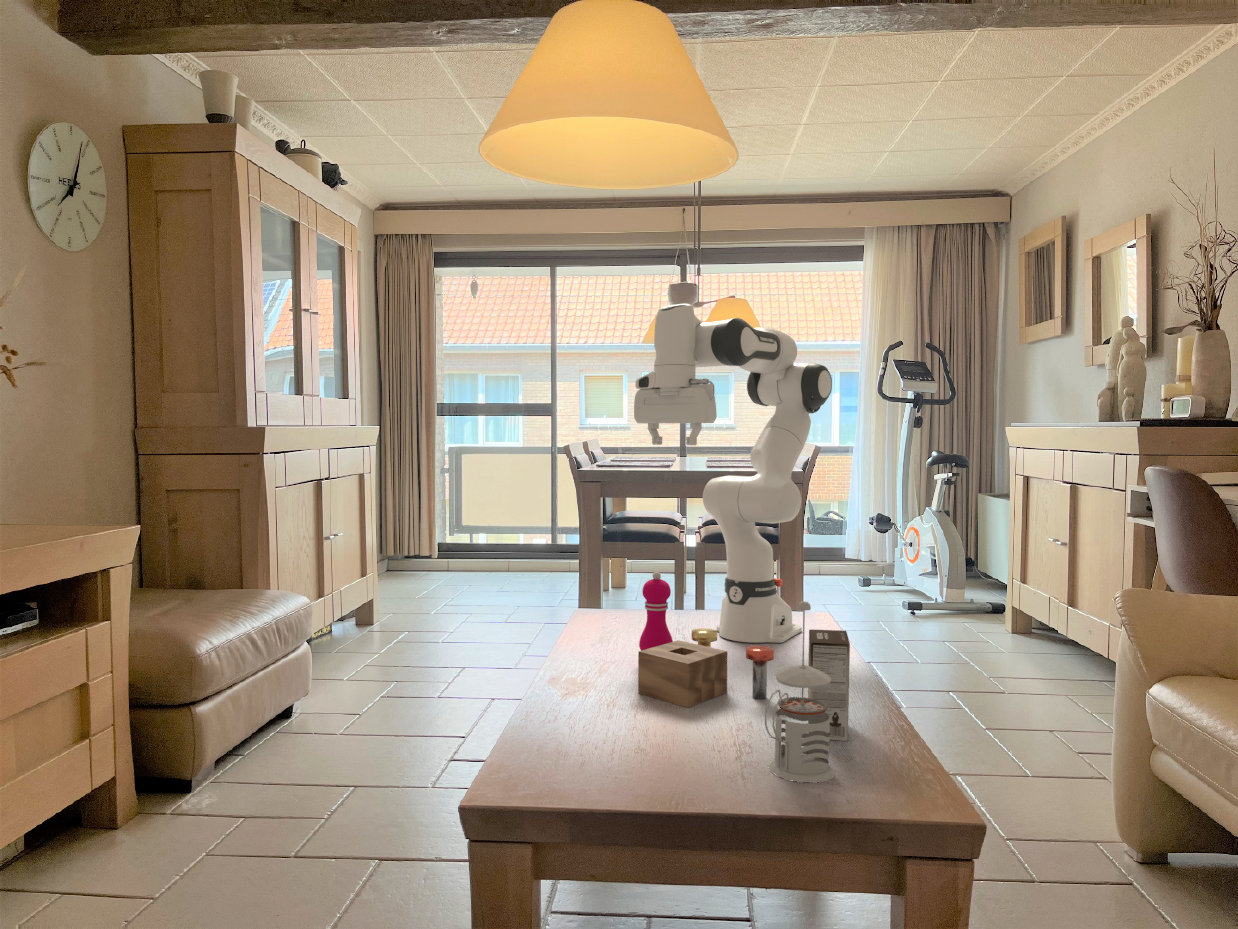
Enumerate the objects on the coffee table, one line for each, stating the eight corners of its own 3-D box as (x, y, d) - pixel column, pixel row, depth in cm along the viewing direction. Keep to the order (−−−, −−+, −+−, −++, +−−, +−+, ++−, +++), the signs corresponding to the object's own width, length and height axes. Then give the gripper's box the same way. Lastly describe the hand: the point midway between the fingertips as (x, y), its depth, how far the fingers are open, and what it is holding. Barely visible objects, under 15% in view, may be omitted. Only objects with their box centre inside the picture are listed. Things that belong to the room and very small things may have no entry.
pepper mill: (673, 661, 181) (674, 569, 181) (672, 670, 174) (673, 575, 173) (640, 660, 182) (640, 568, 181) (637, 669, 175) (638, 574, 174)
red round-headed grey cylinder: (755, 691, 161) (756, 644, 160) (778, 697, 157) (779, 649, 157) (739, 697, 157) (740, 649, 156) (763, 703, 153) (764, 654, 153)
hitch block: (677, 679, 168) (678, 640, 167) (726, 692, 160) (727, 651, 159) (638, 693, 159) (638, 651, 159) (688, 707, 151) (688, 663, 150)
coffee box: (806, 720, 145) (808, 628, 144) (844, 722, 144) (846, 630, 143) (808, 739, 136) (810, 641, 135) (849, 742, 134) (851, 643, 134)
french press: (850, 773, 122) (853, 603, 121) (792, 792, 116) (795, 612, 115) (801, 752, 130) (803, 592, 129) (744, 767, 124) (747, 600, 123)
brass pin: (701, 670, 174) (701, 627, 174) (721, 675, 171) (722, 631, 171) (686, 675, 171) (686, 631, 170) (706, 681, 167) (707, 635, 167)
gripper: (723, 378, 173) (722, 445, 174) (648, 382, 187) (648, 444, 188) (704, 377, 168) (703, 445, 169) (629, 381, 182) (629, 444, 183)
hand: (673, 445), depth 178 cm, fingers open, 8 cm apart
